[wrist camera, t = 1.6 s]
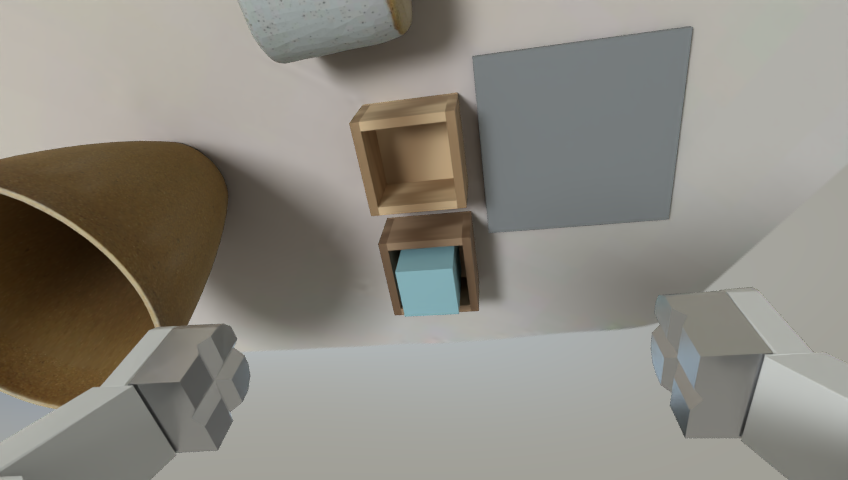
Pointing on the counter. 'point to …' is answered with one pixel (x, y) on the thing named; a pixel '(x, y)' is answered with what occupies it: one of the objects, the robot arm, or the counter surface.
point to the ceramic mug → (323, 25)
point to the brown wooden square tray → (427, 235)
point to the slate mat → (581, 130)
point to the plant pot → (99, 258)
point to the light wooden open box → (411, 154)
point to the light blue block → (429, 280)
